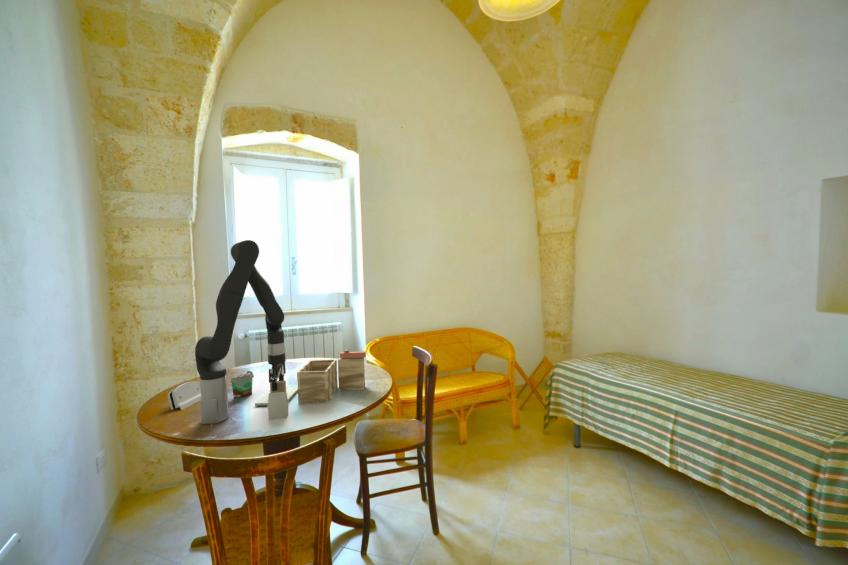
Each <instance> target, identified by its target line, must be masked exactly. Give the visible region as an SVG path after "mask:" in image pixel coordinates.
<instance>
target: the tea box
mask: <svg viewBox="0 0 848 565" xmlns="http://www.w3.org/2000/svg"><path fill="white" fill-rule="evenodd" d="M267 411H268V413H267V414H268V420H269V421H271V420H272V421H273V420H286V419H287V418H288V416H289V414H290V413H289V401H288V399H287V392H280V393H269V398H268V405H267Z"/></svg>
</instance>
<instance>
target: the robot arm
mask: <svg viewBox="0 0 848 565" xmlns="http://www.w3.org/2000/svg"><path fill="white" fill-rule="evenodd" d="M230 256H231V258H232V260H233V261H234V266H233V267H232V269H231V272H229V275H228V276H227V277H226V279H225V280H224V281H223V283H222V285H221V287H220V290H219V293H218V295H217V298H216V302H215V311H216V318H217V324H216V327H215V330H214V332H213V333H214V334H213V336H209V335H208V336H203V337H201V338H200V339H198V340H197V343H196V345H195V350H194V352H195V353H194V355H195V356H194V357H195V364H196V371H197V373H198V374H199V381H200V382H199V383H200V387H201V400H200V401H199V402H200V415H201V416H200V417H201V419H200V420H201V424H202V425H209V424H211V425H212V424H219V423H220V422H223V421H225V420H227V419H228V418H229V417H230V416H229V415H230V414H229V401H228V394H229V393H228V380H227V378H228V376H227V369H226V367H225V366H224V365H223V364H221V362H220V361H222V360H224V359H225V358H227V355H228V353H229V351H230V348H231V344H232V339H233V333H234V328H235V326H236V322H237V318H238V315H239V312H240V310H241V309H240V308H241V306H242V304H243V300H244V297H245V293H246V289H247V287H248V283H249V286H250V287H251V289H252V291H253V293H254V295H255V297H256V299H257V300H256V301H258V303H259V305H260V307H261V308H262V310H264V313H265V318H264V319H265V320H264V321H265V327H266V332H267V333H266V334H267V335H266V336H267V337H266V338H267V363H268V365H271V368H268V383H269V384H270V383H272V391H277V381H285V375H286V373H287V372H286V360H287V359H286V345H285V334H284V330H283V328H282V327H283V326H282V324H283V322H284V321H285V314H284V312H283V309H282V307H281V306H280V304H279V303H278V301H277V300H276V297H275V294H274V293H273V290H272V287H271V286H270V284H269V283H268V281H267V280H266V279H265V278H264V277H263V275H262V274H261V273H260V271H258V269H257V267H256V262H257V261H258V258H259V256H260V248H259V244H257V242H256V241H254V240H251V239H245V240H242V241H239V242H237V243H235V244H233V245H232V246H231V248H230Z"/></svg>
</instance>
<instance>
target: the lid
mask: <svg viewBox="0 0 848 565" xmlns="http://www.w3.org/2000/svg"><path fill="white" fill-rule="evenodd" d="M286 384H287V383H286V380H284V381H279V380H277V391H272V383H269V387H270V388H269V389H270V390H268V391H267V392H266V393H265V394H264V395H263V396H261V397H260V398H259V399H257V401H256V402H254V406H268V398H269V393H280V392H287V399H288V402H289V401H290V400H291V399H292V398H293V397H294V395H296V393H298V386H290V387H289V386H288V387H287V386H286Z"/></svg>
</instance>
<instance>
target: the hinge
mask: <svg viewBox="0 0 848 565" xmlns="http://www.w3.org/2000/svg"><path fill="white" fill-rule="evenodd" d="M167 400H168V403H169V406H170V410H175V409H178V408H179V409H180V410H181V411H183V410H184V409H186V408H188V407H191V406H192V405H195V404H197V403H198V402H200V401H201V387H200V382H199V381H198V380H197V381H196V380H195V381H194V380H193V381H187V382H185V383H181V384H179V385H177V386H175V387H174V388H173V389H172V390H170V391H169V392H168V394H167Z"/></svg>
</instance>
